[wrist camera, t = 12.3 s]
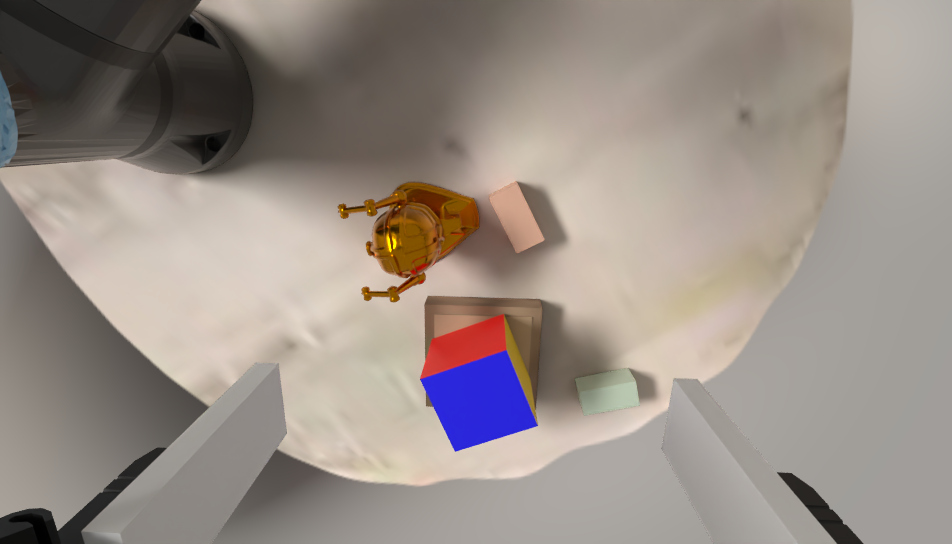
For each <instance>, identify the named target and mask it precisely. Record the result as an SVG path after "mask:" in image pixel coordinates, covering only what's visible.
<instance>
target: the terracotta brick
mask: <svg viewBox="0 0 952 544" xmlns="http://www.w3.org/2000/svg"><path fill="white" fill-rule="evenodd" d="M489 200H490V202H491V204H492V206H493V208H494V210H495V212H496V214H497V216H498V218H499V220H500V222H501V224H502V226H503V228H504V230H505V232H506V234H507V236H508V238H509V240H510V242H511V244H512V246H513V247H514V249H515V251H516V253H520V252H522V251H524V250H526V249H528V248H530V247H532V246H534V245H536V244H538V243H540V242H542V241H544V240H545V239H544V237H543V235H542V233H541V231H540V229H539V227H538V225H537V223H536V221H535V219H534V217H533V214H532V212H531V210H530V208H529V206H528V204H527V202H526V200H525V198H524V196H523V194H522V192H521V190H520V187H519V185H518V183H517V182H516V181H515V182H513V183H511V184H509V185H507V186H505V187H503V188H502V189H500V190H498V191H496V192H494V193H492V194H490V195H489Z"/></svg>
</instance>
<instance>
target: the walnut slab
mask: <svg viewBox="0 0 952 544" xmlns="http://www.w3.org/2000/svg"><path fill="white" fill-rule="evenodd" d="M542 309H543V308H542V305H541V301H540V299H511V298H478V297H444V296H428V297H427V300H426V302H425V361H426V357H427V354H428V351H429V347H430V344H431V340H432V339H433V338H436V337H439V336H442V335H445V334H448V333H450V332H453V331H456V330H459V329H462V328H465V327H468V326H470V325H473V324H476V323H479V322H482V321H485V320H487V319H490V318H493V317H496V316H499V315H502V314H504V315H505V318H506V320H507V323H508V325H509V328H510V330H511V333H512V335H513V337H514V340H515V342H516V345H517V347H518V350H519V352H520V355H521V357H522V360H523V362H524V365H525V367H526V370H527V372H528V375H529V377H530V380H531V387H532V393H533V399H534V405H535V410H536V396H537V382H538V367H539V352H540V338H541V323H542ZM426 406H430V407H433V405H432V403H431V401H430V399H429V397H428V395H427V393H426Z"/></svg>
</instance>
